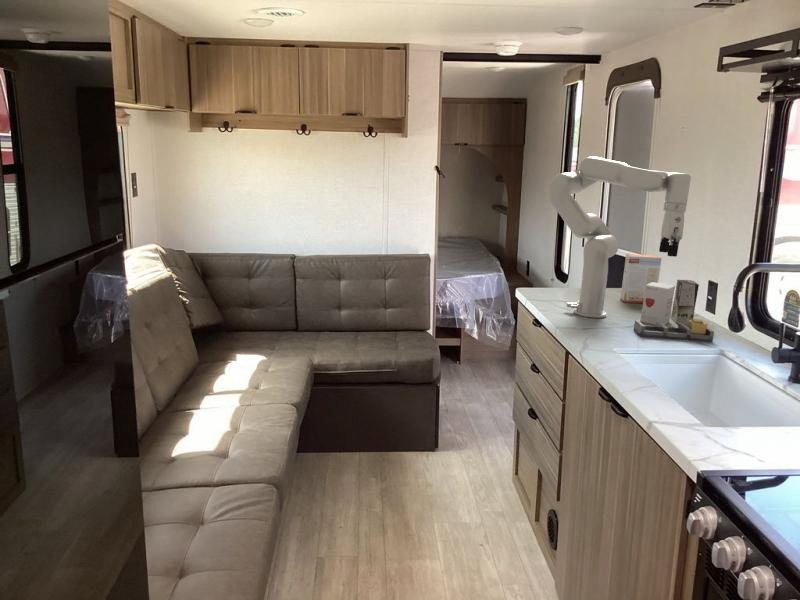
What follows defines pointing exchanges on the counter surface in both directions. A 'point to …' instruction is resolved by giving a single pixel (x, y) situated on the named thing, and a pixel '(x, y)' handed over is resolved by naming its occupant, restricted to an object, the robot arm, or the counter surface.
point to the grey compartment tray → (671, 332)
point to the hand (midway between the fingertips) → (667, 254)
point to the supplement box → (657, 303)
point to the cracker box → (639, 276)
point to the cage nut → (697, 326)
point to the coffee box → (684, 301)
